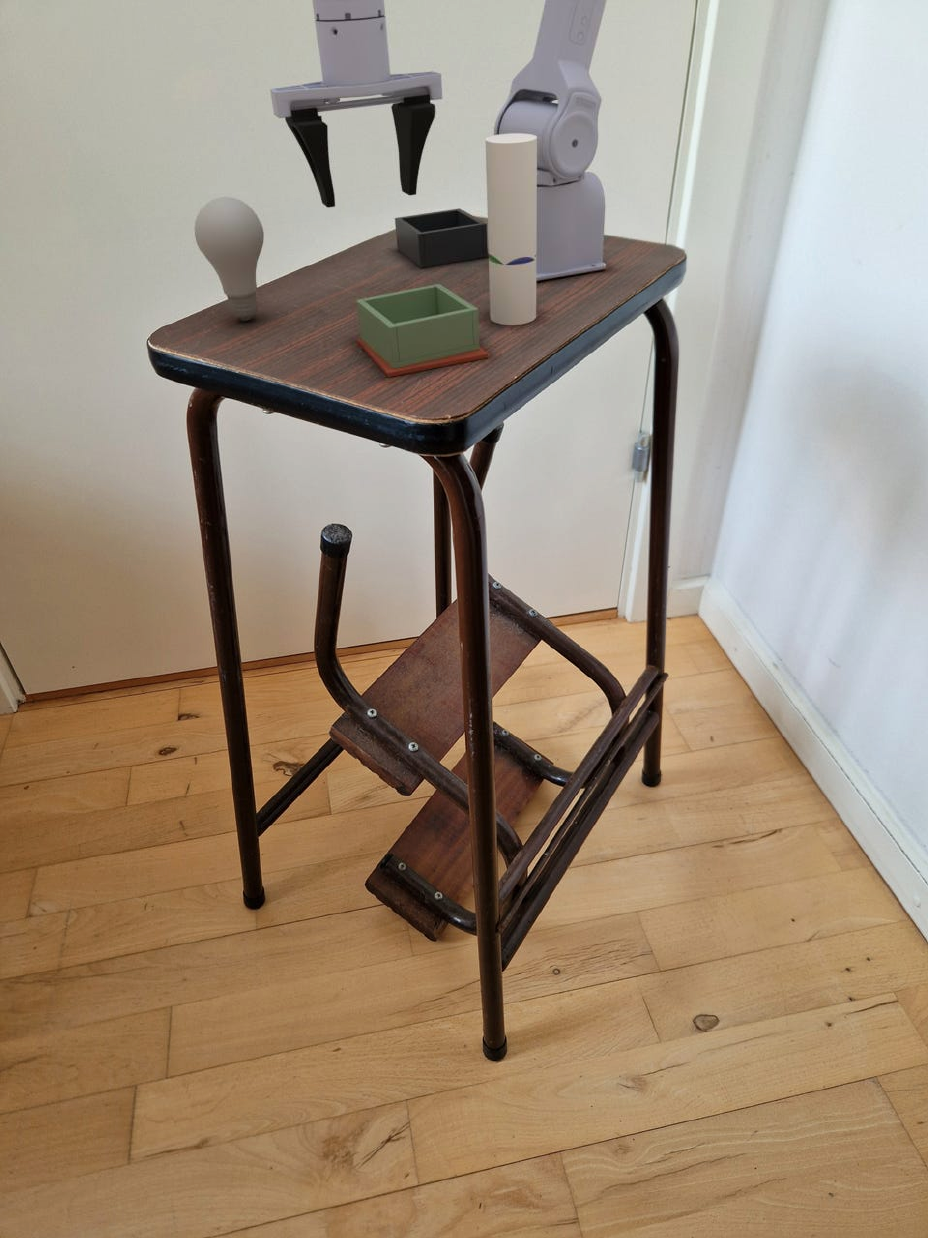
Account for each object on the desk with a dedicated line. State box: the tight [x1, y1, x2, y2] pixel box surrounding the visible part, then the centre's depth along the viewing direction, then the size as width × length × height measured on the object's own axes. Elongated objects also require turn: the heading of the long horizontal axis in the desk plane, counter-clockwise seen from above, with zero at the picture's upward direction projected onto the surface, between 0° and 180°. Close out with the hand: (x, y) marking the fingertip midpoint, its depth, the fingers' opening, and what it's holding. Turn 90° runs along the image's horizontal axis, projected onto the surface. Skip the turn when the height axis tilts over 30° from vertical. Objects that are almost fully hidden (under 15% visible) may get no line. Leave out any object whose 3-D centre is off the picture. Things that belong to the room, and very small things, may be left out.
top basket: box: [355, 283, 480, 369], centre depth 76 cm, size 8×8×4 cm
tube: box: [485, 133, 537, 326], centre depth 78 cm, size 4×4×15 cm
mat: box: [356, 337, 489, 378], centre depth 77 cm, size 9×9×1 cm
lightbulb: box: [194, 196, 265, 322], centre depth 82 cm, size 6×6×11 cm
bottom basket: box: [394, 208, 489, 269], centre depth 99 cm, size 8×8×4 cm
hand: (369, 198), depth 80 cm, fingers open, 7 cm apart
